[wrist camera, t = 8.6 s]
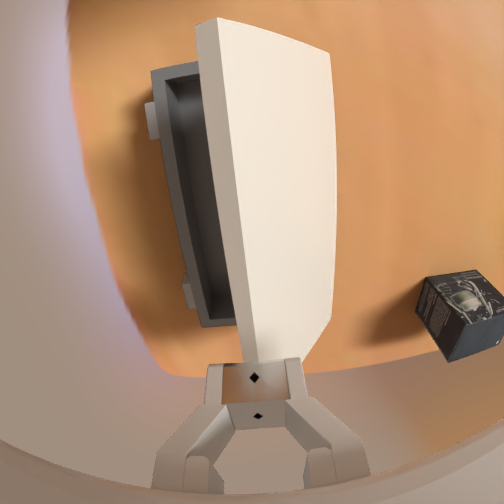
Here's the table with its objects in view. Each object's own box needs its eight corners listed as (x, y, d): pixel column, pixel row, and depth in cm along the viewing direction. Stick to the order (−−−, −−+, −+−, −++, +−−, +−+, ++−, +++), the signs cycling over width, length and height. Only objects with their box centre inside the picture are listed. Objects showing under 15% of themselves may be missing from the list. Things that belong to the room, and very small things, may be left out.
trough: (158, 78, 22) (140, 73, 17) (300, 61, 21) (313, 52, 17) (199, 298, 33) (194, 328, 29) (310, 287, 33) (319, 316, 28)
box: (477, 266, 33) (518, 309, 24) (464, 302, 36) (498, 346, 27) (424, 274, 33) (466, 326, 24) (413, 313, 36) (445, 366, 27)
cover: (194, 25, 9) (216, 17, 8) (313, 54, 17) (329, 53, 16) (252, 405, 20) (265, 411, 19) (319, 314, 28) (330, 318, 28)
